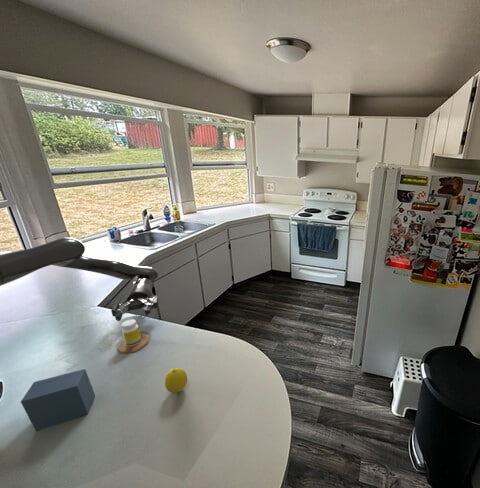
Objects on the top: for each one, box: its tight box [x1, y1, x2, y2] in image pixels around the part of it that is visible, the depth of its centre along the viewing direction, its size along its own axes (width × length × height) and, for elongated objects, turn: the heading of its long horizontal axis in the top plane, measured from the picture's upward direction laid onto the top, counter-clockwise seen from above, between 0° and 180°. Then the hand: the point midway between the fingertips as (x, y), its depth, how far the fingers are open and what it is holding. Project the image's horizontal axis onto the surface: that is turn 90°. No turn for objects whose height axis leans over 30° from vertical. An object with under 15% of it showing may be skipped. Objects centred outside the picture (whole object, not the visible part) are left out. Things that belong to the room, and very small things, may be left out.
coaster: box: [117, 333, 150, 354], centre depth 90 cm, size 9×9×1 cm
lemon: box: [164, 367, 188, 394], centre depth 72 cm, size 6×6×8 cm
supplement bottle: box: [121, 318, 142, 346], centre depth 89 cm, size 5×5×8 cm
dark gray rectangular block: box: [20, 368, 96, 432], centre depth 65 cm, size 10×6×10 cm, turn 117°
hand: (132, 316), depth 92 cm, fingers open, 8 cm apart
